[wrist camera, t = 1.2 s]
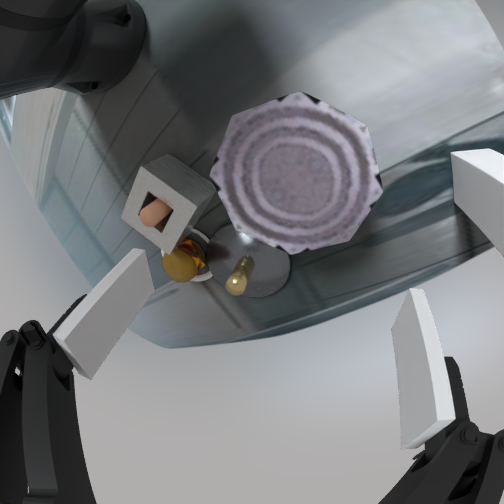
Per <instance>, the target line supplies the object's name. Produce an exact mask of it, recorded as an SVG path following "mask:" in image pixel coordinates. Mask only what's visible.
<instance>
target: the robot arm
mask: <svg viewBox="0 0 504 504" xmlns="http://www.w3.org/2000/svg"><path fill="white" fill-rule="evenodd" d="M144 36H145V17H144V13H143V11H142V8H141V7H140V5H139V4H138V3H137V2H136V1H135V0H0V99H4V98H7V97H11V96H14V95H18V94H22V93H26V92H30V91H35V90H39V89H44V88H50V87H53V88H57V89H61V90H65V91H68V92H72V93H76V94H80V95H88V94H95V93H101V92H104V91H106V90H109V89H110V88H112V87H114V86H115V85H116V84H117V83H119V82H120V81H121V80H122V79H123V78H124V77H125V76H126V74H127V73H128V72H129V71H130V69H131V68H132V66H133V64H134V63H135V61H136V59H137V57H138V55H139V53H140V50H141V47H142V44H143V40H144ZM154 291H155V290H154V286H153V282H152V278H151V274H150V270H149V266H148V262H147V258H146V253H145V250H142V249H136V248H133V249H132V250H131V251H130V252H129V253H128V254H127V255H126V256H125V257H124V258H123V259H122V260H121V261H120V262H119V263H118V264H117V265H116V266H115V267H114V268H113V269H112V270H111V271H110V272H109V273H108V274H107V275H106V276H105V277H104V278H103V279H102V280H101V281H100V282H99V283H98V284H97V285H96V286H95V287H94V288H93V290H92V291H91V292H90V293H89V294H88V295H87V294H85V295H83V296H82V297H81V298H79V299H77V300H76V301H75V302H74V303H73V304H72V305H71V308H69V309H68V310H67V311H66V313H65V314H63V315H62V317H61V318H60V319H59V320H58V321H57V323H55V325H54V326H53V327H52V328H51V329H50V330H49V332H48V333H47V334H46V333H45V331H44V330H43V328H42V327H41V325H40V323H39V322H38V321H36V320H30V321H28V322H26V323H25V324H23V325H22V326H21V328H20V329H19V332H17V331H16V330H10V331H8V332H6V333H5V334H4V335H3V337H2V339H1V341H0V504H96V501H95V497H94V494H93V491H92V487H91V484H90V480H89V476H88V472H87V468H86V463H85V458H84V454H83V449H82V444H81V438H80V431H79V425H78V418H77V410H76V400H75V388H74V375H73V372H72V369H73V367H75V368H76V370H77V371H78V373H79V374H81V375H82V376H84V377H86V378H88V379H90V380H91V379H92V378H93V376H94V374H95V373H96V372H97V370H98V369H99V367H100V366H101V364H102V363H103V361H104V360H105V359H106V357H107V356H108V354H109V353H110V351H111V350H112V348H113V347H114V346H115V344H116V342H117V341H118V340H119V339H120V337H121V336H122V334H123V333H124V331H125V330H126V329H127V327H128V326H129V325H130V323H131V322H132V320H133V319H134V318H135V316H136V315H137V314H138V312H139V311H140V310H141V308H142V307H143V306H144V304H145V303H146V302H147V300H148V299H149V298H150V296H151V295H152V294H153V292H154ZM391 330H392V337H393V344H394V351H395V359H396V368H397V377H398V389H399V403H400V425H401V449H413V448H418V447H420V446H421V445H422V444H424V443H425V450H423V451H422V452H420V453H419V454H417V455H416V456H415V457H414V458H413V460H415V459H416V458H417V460H416V461H415V462H414V463H413V465H412V466H411V467H410V469H409V470H408V471H407V472H406V473H405V475H404V476H403V477H402V478H401V480H400V481H399V482H398V483H397V484H396V485H395V486H394V487H393V489H392V490H391V491H390V492H389V493H388V494H387V495H386V496H385V497H384V498H383V499H382V500H381V501H380V502H379V503H378V504H499V502H500V499H501V496H502V493H503V490H504V429H503V430H501V431H499V432H498V433H496V434H495V435H492V434H487V433H483V432H480V431H479V429H478V427H477V426H476V425H475V423H473V422H470V419H469V414H468V408H467V403H466V398H465V393H464V388H463V383H462V380H461V375H460V371H459V367H458V365H457V363H456V362H455V360H454V359H453V357H444V356H443V352H442V348H441V345H440V341H439V337H438V333H437V330H436V327H435V323H434V320H433V317H432V314H431V311H430V308H429V305H428V302H427V299H426V296H425V293H424V290H422V289H413V288H409V291H408V293H407V295H406V298H405V300H404V303H403V305H402V307H401V309H400V312H399V314H398V316H397V318H396V320H395V322H394V325H393V326H392V329H391ZM16 367H17V368H18V369H19V370H20V374H19V376H18V375H17V374H16V373H15V369H16ZM28 486H29V493H28Z"/></svg>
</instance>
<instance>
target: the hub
mask: <svg viewBox="0 0 504 504" xmlns="http://www.w3.org/2000/svg"><path fill="white" fill-rule="evenodd" d="M206 260H207V265H208V267H209V270H210V272H211V273H212V275H213V276H214V278H215V279H216V280H217V281H218V282H219V283H220V284H221V285H222V286H223V287H225V288H226V290H227V291H228V292H229V293H230V294H232V295H241V296H245V297H253V298H257V297H265V296H268V295H271V294H273V293H275V292H277V291H278V290H279V289H280V288H281V287H282V286H283V285H284V284H285V282H286V280H287V278H288V275H289V272H290V267H291V258H290V254H288V253H286V252H284V251H282V250H279V249H277V248H275V247H273V246H271V245H268V244H266V243H264V242H262V241H260V240H257V239H255V238H253V237H251V236H248V235H246V234H244V233H242V232H240V231H237V230H236V229H235V227H234V225H233V223H232V222H231V223H228V224H226V225H224V226H222V227H221V228H220V229H218V230H217V231H216V233H215V234H214V235H213V236H212V238H211V239H210V241H209V243H208V245H207V249H206Z"/></svg>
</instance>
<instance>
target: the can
mask: <svg viewBox="0 0 504 504" xmlns="http://www.w3.org/2000/svg"><path fill="white" fill-rule="evenodd" d="M209 176H210V178H211V180H212V182H213V184H214V186H215V188H216V190H217V192H218V194H219V196H220V199H221V201H222V203H223V205H224V207H225V209H226V211H227V213H228V215H229V217H230V219H231V221H232V223H233V225H234V227H235V229H236V230H237V231H240V232H242V233H244V234H246V235H248V236H251V237H253V238H255V239H257V240H260V241H262V242H264V243H266V244H268V245H271V246H273V247H275V248H277V249H279V250H282V251H284V252H286V253H288V254H290V255H292V254H296V253H300V252H305V251H309V250H313V249H317V248H322V247H327V246H330V245H335V244H339V243H343V242H347V241H349V240H350V239H351V238H352V236H353V235H354V233H355V232H356V231H357V229H358V228H359V226H360V225H361V223H363V222H364V219H365V218H366V216H367V215H368V213H369V212H370V210H371V209H372V207H373V206H374V204H375V203H376V201H377V200H378V198H379V197H380V195H381V194H382V192H383V188H382V183H381V178H380V174H379V170H378V165H377V161H376V157H375V153H374V149H373V146H372V142H371V138H370V135H369V131H368V128H367V126H366V125H364V124H363V123H361V122H359V121H358V120H356V119H354V118H352V117H351V116H349V115H347V114H345V113H343V112H341V111H340V110H338V109H336V108H334V107H332V106H330V105H328V104H326V103H324V102H322V101H320V100H318V99H316V98H314V97H312V96H310V95H308V94H306V93H304V92H301V91H299V92H296V93H293V94H290V95H287V96H283V97H281V98H278V99H275V100H272V101H269V102H266V103H263V104H261V105H258V106H255V107H253V108H250V109H248V110H245V111H242V112H240V113H237V114H235V115H233V116H232V117H231V119H230V122H229V124H228V127H227V130H226V132H225V135H224V137H223V140H222V142H221V145H220V148H219V150H218V153H217V156H216V159H215V161H214V164H213V167H212V170H211V172H210V175H209Z"/></svg>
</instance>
